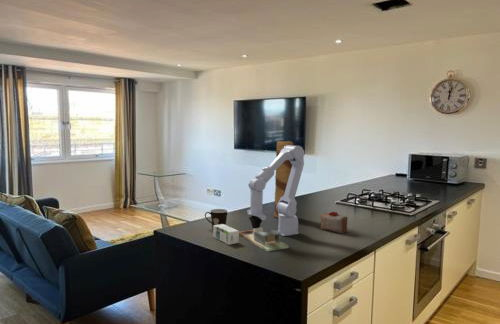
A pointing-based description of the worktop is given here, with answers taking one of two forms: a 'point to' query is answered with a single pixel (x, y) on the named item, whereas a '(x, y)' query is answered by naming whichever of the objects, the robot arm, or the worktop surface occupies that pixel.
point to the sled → (268, 238)
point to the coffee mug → (217, 216)
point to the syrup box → (226, 234)
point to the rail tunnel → (260, 239)
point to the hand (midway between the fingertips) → (255, 231)
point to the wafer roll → (281, 175)
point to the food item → (334, 222)
